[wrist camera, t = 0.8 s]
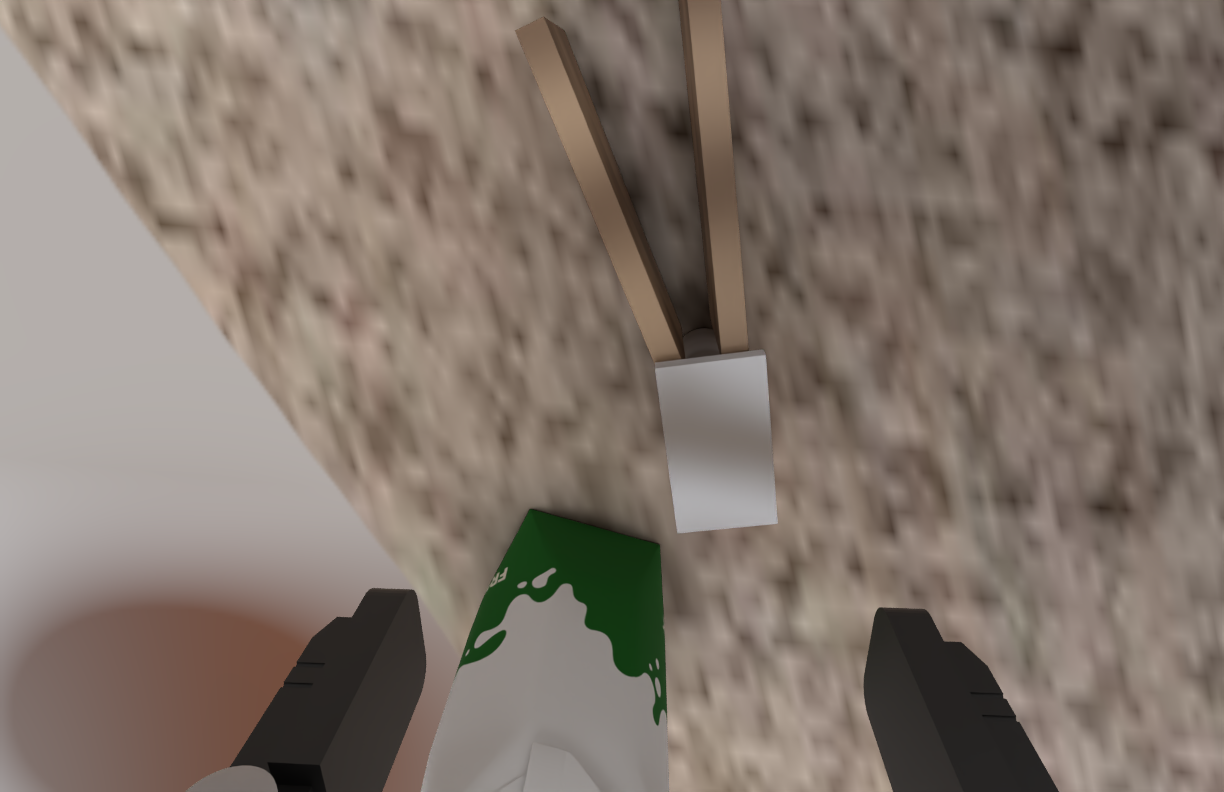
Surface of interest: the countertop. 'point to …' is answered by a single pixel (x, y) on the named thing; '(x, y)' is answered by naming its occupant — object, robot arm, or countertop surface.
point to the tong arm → (607, 194)
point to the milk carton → (561, 670)
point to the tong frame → (717, 326)
